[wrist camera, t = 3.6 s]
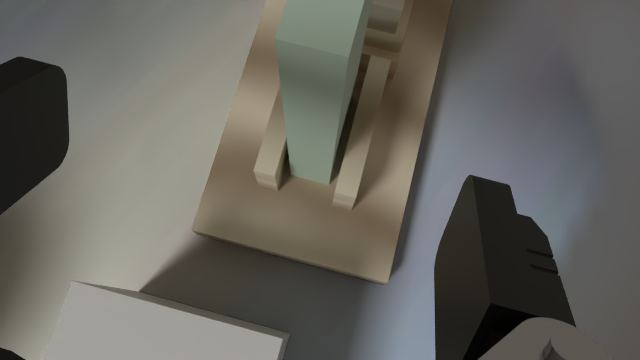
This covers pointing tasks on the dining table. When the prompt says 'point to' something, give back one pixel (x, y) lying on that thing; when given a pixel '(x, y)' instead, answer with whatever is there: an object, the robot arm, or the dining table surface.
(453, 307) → the robot arm
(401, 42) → the offcut stack
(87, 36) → the dining table surface
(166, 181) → the dining table surface
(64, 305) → the sheet stand
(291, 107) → the tall sheet
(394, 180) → the rack
